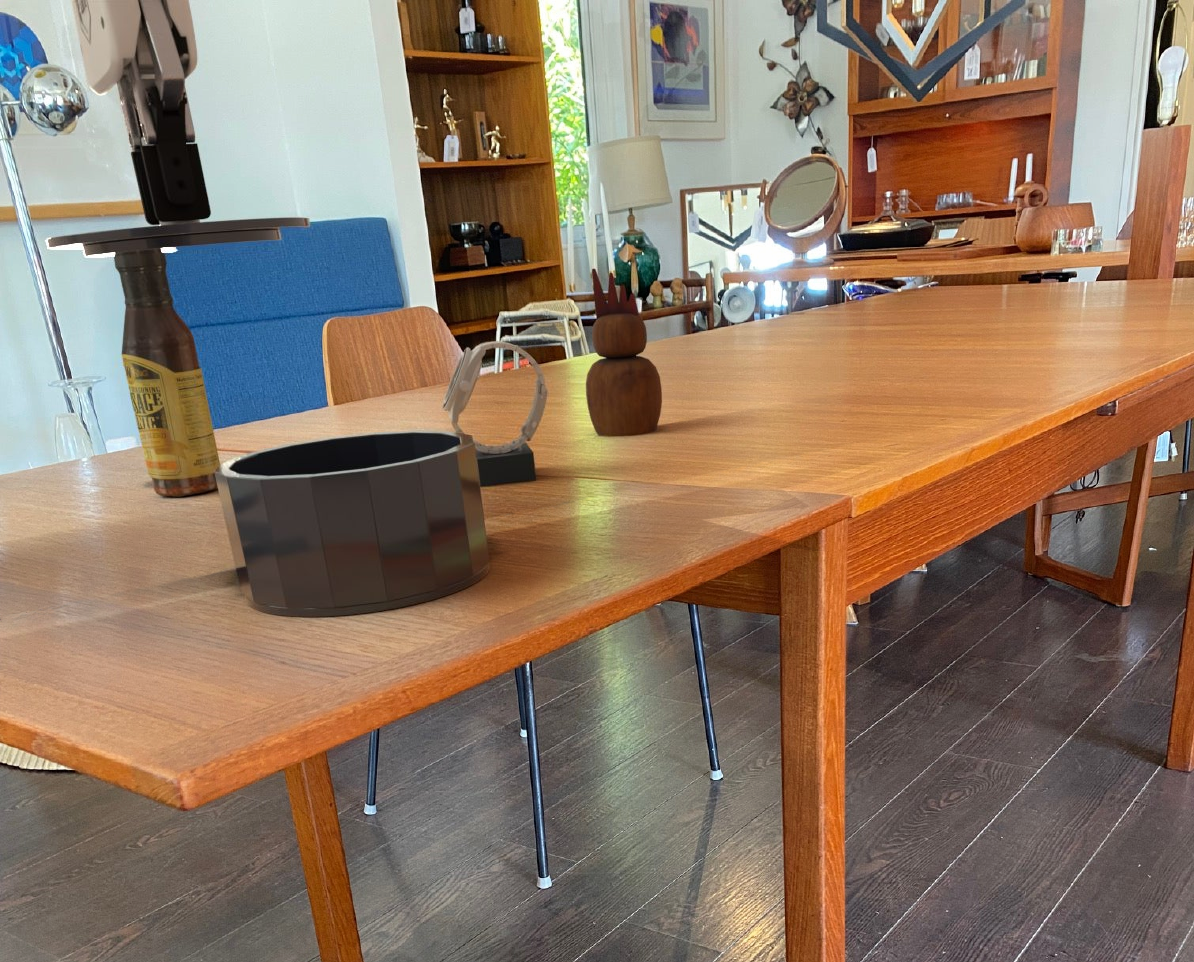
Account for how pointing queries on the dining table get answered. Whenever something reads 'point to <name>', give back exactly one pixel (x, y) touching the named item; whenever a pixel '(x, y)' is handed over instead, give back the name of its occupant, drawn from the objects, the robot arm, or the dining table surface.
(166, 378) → the sauce bottle
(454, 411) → the watch
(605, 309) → the wooden figurine
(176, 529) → the dining table surface
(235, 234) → the lid
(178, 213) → the robot arm
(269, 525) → the dark grey round bin
